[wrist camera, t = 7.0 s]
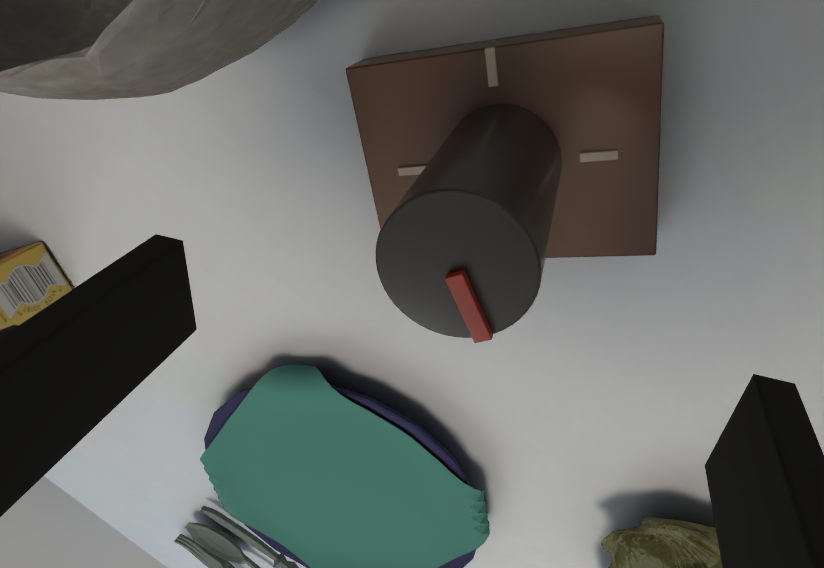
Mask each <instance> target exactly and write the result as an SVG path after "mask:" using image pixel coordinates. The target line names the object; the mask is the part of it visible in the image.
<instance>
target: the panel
mask: <svg viewBox="0 0 824 568" xmlns="http://www.w3.org/2000/svg"><path fill="white" fill-rule="evenodd" d="M663 38H664V23H663V21H662V20H661V18H660V17H659V16H650V17H644V18H637V19H630V20H624V21H617V22H610V23H603V24H597V25H590V26H583V27H577V28H570V29H563V30H556V31H550V32H543V33H536V34H530V35H523V36H516V37H509V38H503V39H496V40H489V41H483V42H476V43H469V44H462V45H456V46H449V47H442V48H436V49H429V50H422V51H415V52H409V53H402V54H395V55H389V56H382V57H375V58H368V59H362V60H361V61H359V62H357V63H355V64H353V65H351V66H350V67H348V68H346V73H347V78H348V82H349V87H350V91H351V96H352V101H353V105H354V110H355V114H356V119H357V124H358V128H359V133H360V137H361V142H362V146H363V151H364V156H365V160H366V165H367V169H368V174H369V178H370V183H371V188H372V192H373V197H374V201H375V206H376V210H377V215H378V220H379V224H380V229H381V228H382V226H383V224H384V222H385V221H386V219H387V218H388V216H389V215H390V214H391V212H392V211H393V210H394V208H395V207H396V206H397V204H398V203H399V202H400V200H401V199H402V198H403V196H404V195H405V194H406V192H407V191H408V190H409V188H410V187H411V186H412V184H413V183H414V182H415V180H416V179H417V178H418V176H419V175H420V174H421V172H422V171H423V170H424V168H425V167H426V166H427V164H428V163H429V162H430V160H431V159H432V158H433V156H434V155H435V154H436V152H437V151H438V150H439V148H440V147H441V146H442V144H443V143H444V142H445V140H446V139H447V138H448V136H449V135H450V134H451V132H452V131H453V130H454V128H455V127H456V126H457V125H458V124H459V122H460V121H461V120H463V119H464V118H465V117H466V116H468V115H469V114H471V113H472V112H474V111H476V110H478V109H481V108H484V107H487V106H492V105H512V106H517V107H521V108H523V109H526V110H528V111H530V112H532V113H534V114H535V115H537V116H538V117H539V118H541V119H542V120H543V121H544V122H545V123H546V124H547V125H548V126H549V128H550V129H551V130H552V132H553V133H554V135H555V137H556V139H557V141H558V144H559V147H560V151H561V159H562V163H561V173H560V178H559V184H558V189H557V195H556V200H555V206H554V211H553V217H552V222H551V228H550V234H549V239H548V245H547V250H546V256H545V258H555V257H596V256H637V255H655V254H656V244H657V215H658V185H659V156H660V127H661V97H662V68H663Z"/></svg>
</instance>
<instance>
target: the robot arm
mask: <svg viewBox="0 0 824 568" xmlns="http://www.w3.org/2000/svg"><path fill="white" fill-rule="evenodd" d="M195 330H196V322H195V316H194V310H193V303H192V297H191V290H190V284H189V278H188V271H187V265H186V258H185V252H184V246H183V241H182V240H178V239H173V238H169V237H165V236H161V235H154V236H153V237H151V238H150V239H148V240H147V241H145V242H144V243H142V244H141V245H139V246H138V247H136V248H135V249H133V250H132V251H130V252H129V253H127V254H126V255H124V256H123V257H121V258H120V259H118V260H116V261H115V262H113V263H112V264H110V265H109V266H107V267H106V268H104V269H103V270H101V271H100V272H98V273H97V274H95V275H94V276H92V277H91V278H89V279H88V280H86V281H85V282H83V283H82V284H80V285H79V286H77V287H76V288H74V289H73V290H71V291H70V292H68V293H67V294H65V295H64V296H62V297H61V298H59V299H58V300H56V301H55V302H53V303H52V304H50V305H49V306H47V307H46V308H44V309H43V310H41V311H40V312H38V313H37V314H35V315H34V316H32V317H31V318H29V319H28V320H26V321H25V322H23V323H22V324H20V325H15V324H14V325H12V326H9V327H6V328H4V329H1V330H0V517H1V516H2V515H3V514H4V513H5V512H6V511H7V510H8V509H9V508H10V507H11V506H12V505H13V504H14V503H15V502H16V501H17V500H19V499H20V497H22V496H23V495H24V494H25V493H26V492H27V491H28V490H29V489H30V488H31V487H32V486H33V485H34V484H35V483H36V482H37V481H38V480H40V478H41V477H43V476H44V475H45V474H46V473H47V472H48V471H49V470H50V469H51V468H52V467H53V466H54V465H55V464H56V463H57V462H58V461H59V460H60V459H61V458H63V457H64V456H65V455H66V454H67V453H68V452H69V451H70V450H71V449H72V448H73V447H74V446H75V445H76V444H77V443H78V442H79V441H80V440H81V439H82V438H83V437H84V436H86V435H87V434H88V433H89V432H90V431H91V430H92V429H93V428H94V427H95V426H96V425H97V424H98V423H99V422H100V421H101V420H102V419H103V418H104V417H105V416H106V415H108V414H109V413H110V412H111V411H112V410H113V409H114V408H115V407H116V406H117V405H118V404H119V403H120V402H121V401H122V400H123V399H124V398H125V397H126V396H127V395H128V394H129V393H131V392H132V391H133V390H134V389H135V388H136V387H137V386H138V385H139V384H140V383H141V382H142V381H143V380H144V379H145V378H146V377H147V376H148V375H149V374H150V373H151V372H152V371H154V370H155V369H156V368H157V367H158V366H159V365H160V364H161V363H162V362H163V361H164V360H165V359H166V358H167V357H168V356H169V355H170V354H171V353H172V352H173V351H174V350H175V349H177V348H178V347H179V346H180V345H181V344H182V343H183V342H184V341H185V340H186V339H187V338H188V337H189V336H190V335H191V334H192V333H193V332H194V331H195ZM705 469H706V475H707V481H708V486H709V492H710V498H711V504H712V510H713V516H714V521H715V527H716V533H717V539H718V545H719V551H720V556H721V562H722V568H824V455H823V452H822V450H821V447H820V445H819V442H818V440H817V437H816V435H815V432H814V430H813V427H812V425H811V422H810V420H809V417H808V415H807V412H806V410H805V407H804V405H803V402H802V400H801V398H800V395H799V393H798V390H797V388H796V385H795V384H794V383H789V382H785V381H781V380H777V379H772V378H768V377H764V376H759V375H755V374H753V376H752V378H751V380H750V382H749V384H748V386H747V387H746V389H745V391H744V393H743V395H742V397H741V399H740V401H739V402H738V404H737V406H736V408H735V410H734V412H733V414H732V415H731V417H730V419H729V421H728V423H727V425H726V427H725V429H724V430H723V432H722V434H721V436H720V438H719V440H718V442H717V444H716V445H715V447H714V449H713V451H712V453H711V455H710V457H709V459H708V460H707V462H706V464H705Z"/></svg>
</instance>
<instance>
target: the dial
mask: <svg viewBox="0 0 824 568" xmlns="http://www.w3.org/2000/svg"><path fill="white" fill-rule="evenodd" d="M561 163H562V159H561V151H560V147H559V144H558V141H557V139H556V137H555V135H554V133H553V132H552V130H551V129H550V128H549V126H548V125H547V124H546V123H545V122H544V121H543V120H542V119H541V118H539V117H538V116H537V115H535V114H534V113H532V112H530V111H528V110H526V109H523V108H521V107H517V106H512V105H492V106H487V107H484V108H481V109H478V110H476V111H474V112H472V113H471V114H469V115H468V116H466V117H465V118H464V119H463V120H461V121H460V122H459V124H458V125H457V126H456V127H455V128H454V130H453V131H452V132H451V134H450V135H449V136H448V138H447V139H446V140H445V142H444V143H443V144H442V146H441V147H440V148H439V150H438V151H437V152H436V154H435V155H434V156H433V158H432V159H431V160H430V162H429V163H428V164H427V166H426V167H425V168H424V170H423V171H422V172H421V174H420V175H419V176H418V178H417V179H416V180H415V182H414V183H413V184H412V186H411V187H410V188H409V190H408V191H407V192H406V194H405V195H404V196H403V198H402V199H401V200H400V202H399V203H398V204H397V206H396V207H395V208H394V210H393V211H392V212H391V214H390V215H389V216H388V218H387V219H386V221H385V222H384V224H383V226H382V228H381V230H380V232H379V236H378V239H377V245H376V264H377V271H378V274H379V277H380V280H381V283H382V285H383V287H384V289H385V291H386V292H387V294H388V296H389V297H390V299H391V300H392V301H393V303H394V304H395V305H396V306H397V307H398V308H399V309H400V310H401V311H402V312H403V313H404V314H405V315H406V316H408V317H409V318H410V319H412V320H413V321H415V322H416V323H418V324H419V325H421V326H423V327H425V328H427V329H429V330H432V331H434V332H437V333H440V334H444V335H448V336H454V337H464V338H469V337H472V338H473V340H474V342H475V343H477V342H482V341H487V340H491V339H492V336H493V334H494V333H497V332H499V331H502V330H504V329H506V328H507V327H509V326H511V325H513V324H514V323H515V322H516V321H518V320H519V319H520V318H521V317H522V316H523V315H524V314H525V313H526V312H527V311H528V310H529V308H530V307H531V305H532V304H533V302H534V300H535V298H536V296H537V294H538V291H539V288H540V283H541V278H542V272H543V267H544V261H545V256H546V250H547V245H548V239H549V234H550V228H551V222H552V217H553V211H554V206H555V200H556V195H557V189H558V184H559V178H560V173H561Z"/></svg>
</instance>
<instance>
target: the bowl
mask: <svg viewBox="0 0 824 568" xmlns="http://www.w3.org/2000/svg"><path fill="white" fill-rule="evenodd" d="M317 1H318V0H0V92H3V93H10V94H16V95H22V96H28V97H35V98H50V99H79V100H97V99H114V98H131V97H144V96H153V95H159V94H164V93H169V92H172V91H174V90H177V89H179V88H181V87H183V86H185V85H188V84H191V83H193V82H196V81H198V80H201V79H202V78H204V77H206V76H208V75H210V74H211V73H213V72H215V71H217V70H219V69H221V68H223V67H225V66H227V65H229V64H231V63H233V62H235V61H237V60H239V59H241V58H243V57H244V56H246V55H248V54H250V53H252V52H254V51H255V50H257V49H258V48H259V47H261V46H262V45H264V44H265V43H266V42H268V41H269V40H271V39H272V38H273V37H275V36H276V35H278V34H279V33H280V32H282V31H283V30H285V29H286V28H287V27H289V26H290V25H291V24H293V23H294V22H295V21H296V20H297V19H298V18H299V17H300V16H301V15H302V14H303V13H304V12H305V11H307V10H308V9H309V8H310V7H311V6H313V5H314V4H315V3H316V2H317Z"/></svg>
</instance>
